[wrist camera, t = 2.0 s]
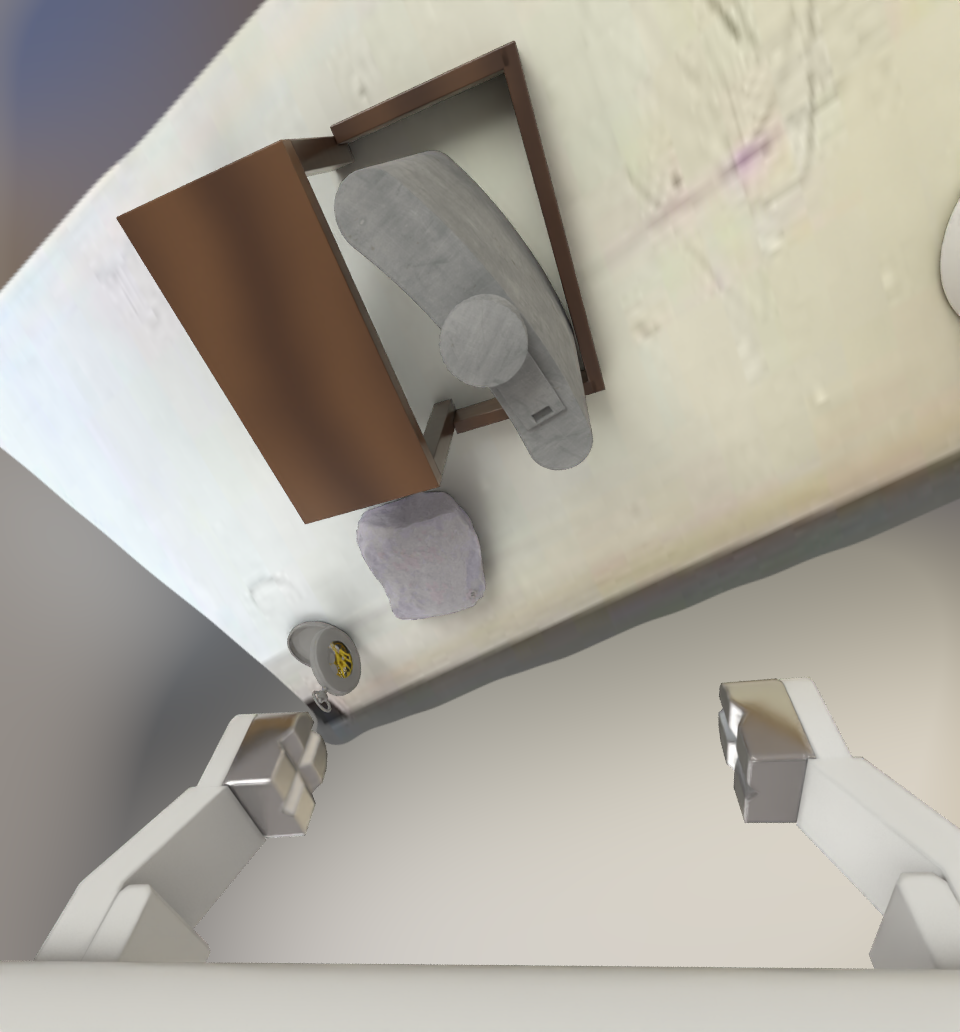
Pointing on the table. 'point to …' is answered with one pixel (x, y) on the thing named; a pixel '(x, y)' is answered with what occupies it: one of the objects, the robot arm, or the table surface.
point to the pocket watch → (326, 658)
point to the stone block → (423, 555)
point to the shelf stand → (321, 308)
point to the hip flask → (474, 293)
